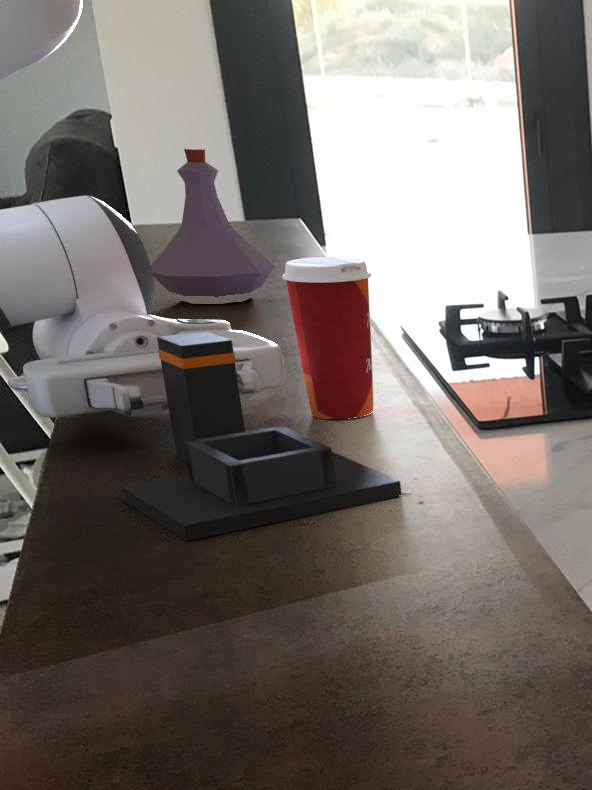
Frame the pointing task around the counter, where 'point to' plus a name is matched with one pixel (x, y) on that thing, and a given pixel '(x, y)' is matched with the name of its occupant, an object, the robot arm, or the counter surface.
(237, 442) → the base pad
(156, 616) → the counter surface
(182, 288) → the flask
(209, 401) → the black block
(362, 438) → the counter surface
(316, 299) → the paper cup
